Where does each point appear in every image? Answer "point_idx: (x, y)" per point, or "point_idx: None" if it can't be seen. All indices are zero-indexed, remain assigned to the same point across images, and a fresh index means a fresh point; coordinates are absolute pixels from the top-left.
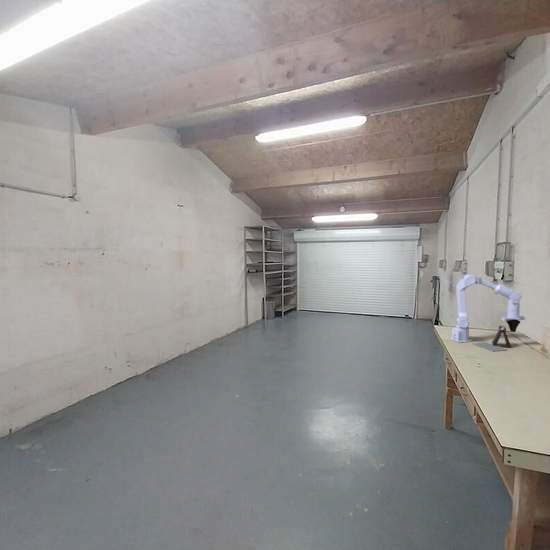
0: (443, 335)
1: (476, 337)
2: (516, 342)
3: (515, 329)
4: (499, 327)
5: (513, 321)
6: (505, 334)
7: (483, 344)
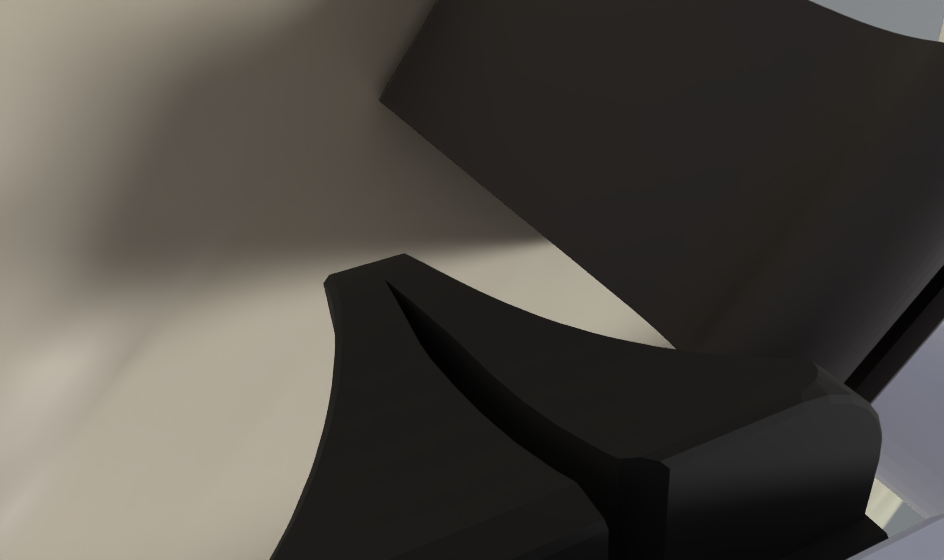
0: None
1: None
2: (15, 359)
3: (378, 303)
4: (911, 316)
5: (765, 535)
6: (816, 14)
7: None
